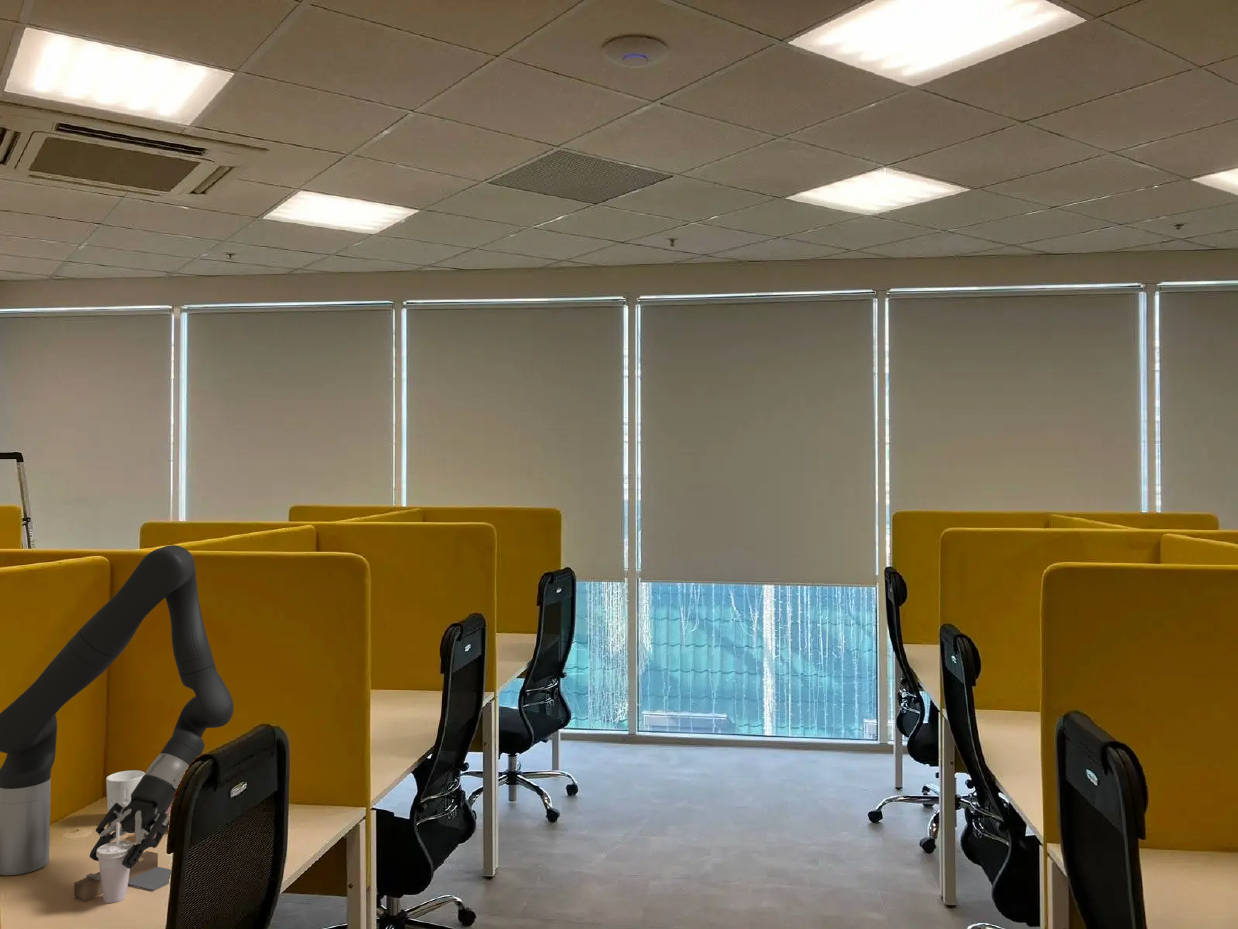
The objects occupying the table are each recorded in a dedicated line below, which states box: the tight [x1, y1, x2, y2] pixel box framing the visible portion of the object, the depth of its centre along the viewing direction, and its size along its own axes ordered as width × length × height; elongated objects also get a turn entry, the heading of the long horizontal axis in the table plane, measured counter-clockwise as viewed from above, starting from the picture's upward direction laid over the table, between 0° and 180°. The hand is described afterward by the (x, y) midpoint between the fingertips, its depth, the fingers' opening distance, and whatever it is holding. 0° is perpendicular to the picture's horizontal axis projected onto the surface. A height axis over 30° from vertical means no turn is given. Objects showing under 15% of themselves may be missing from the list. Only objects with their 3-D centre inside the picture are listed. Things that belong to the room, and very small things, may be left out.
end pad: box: [128, 866, 172, 892], centre depth 179 cm, size 8×8×1 cm
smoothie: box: [96, 822, 135, 904], centre depth 171 cm, size 6×6×14 cm
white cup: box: [105, 769, 146, 813], centre depth 211 cm, size 8×8×10 cm
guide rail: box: [73, 850, 159, 902], centre depth 177 cm, size 3×16×3 cm, turn 158°
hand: (109, 863), depth 170 cm, fingers open, 8 cm apart
